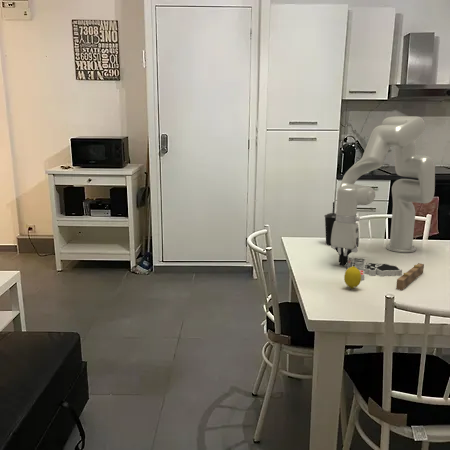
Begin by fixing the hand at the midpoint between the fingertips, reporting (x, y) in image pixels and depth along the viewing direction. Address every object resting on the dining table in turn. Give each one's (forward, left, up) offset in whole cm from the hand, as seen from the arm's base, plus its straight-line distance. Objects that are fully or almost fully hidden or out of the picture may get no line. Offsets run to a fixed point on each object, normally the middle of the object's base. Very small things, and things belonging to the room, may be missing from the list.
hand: (343, 264), depth 181 cm
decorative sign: (-1, +12, -2) cm, 12 cm away
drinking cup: (-29, -19, -1) cm, 35 cm away
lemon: (+21, +13, -1) cm, 25 cm away
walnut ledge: (0, +26, -1) cm, 26 cm away
